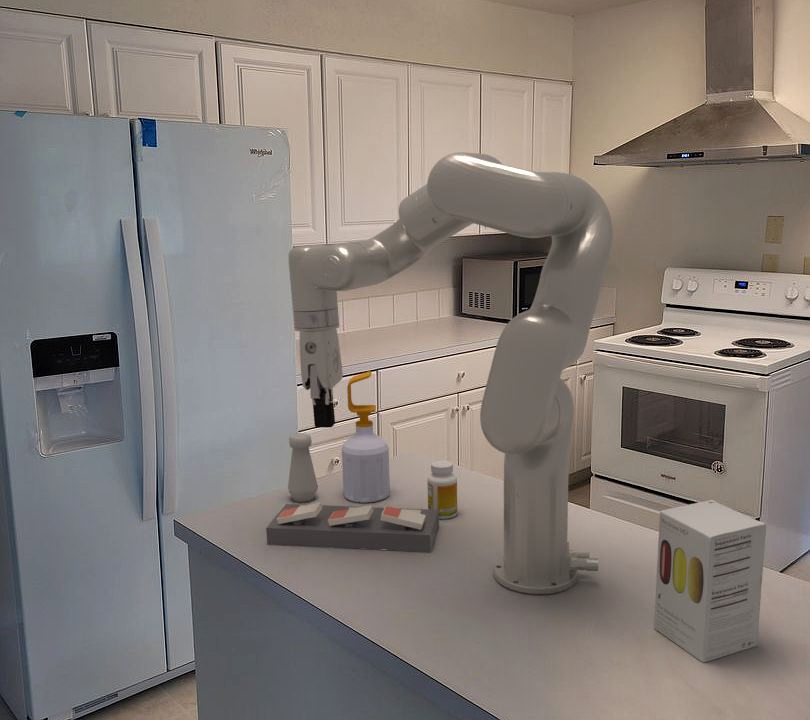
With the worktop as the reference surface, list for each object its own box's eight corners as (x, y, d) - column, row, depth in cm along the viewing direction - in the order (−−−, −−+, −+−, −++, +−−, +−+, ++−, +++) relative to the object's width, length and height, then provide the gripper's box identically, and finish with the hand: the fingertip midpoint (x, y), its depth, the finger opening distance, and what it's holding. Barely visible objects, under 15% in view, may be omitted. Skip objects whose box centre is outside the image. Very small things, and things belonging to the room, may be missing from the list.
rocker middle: (373, 510, 139) (372, 504, 139) (368, 519, 135) (367, 513, 135) (335, 516, 141) (333, 510, 140) (329, 525, 137) (327, 519, 136)
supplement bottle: (462, 511, 150) (462, 461, 148) (448, 521, 145) (447, 470, 144) (437, 506, 153) (436, 457, 151) (422, 516, 148) (421, 465, 146)
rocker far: (322, 507, 141) (320, 501, 140) (316, 516, 137) (314, 510, 137) (285, 515, 142) (283, 509, 142) (278, 524, 138) (276, 518, 138)
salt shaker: (304, 491, 163) (300, 428, 160) (324, 497, 159) (321, 433, 156) (282, 499, 158) (278, 435, 156) (302, 506, 155) (299, 440, 152)
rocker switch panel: (439, 525, 144) (438, 506, 143) (430, 552, 133) (430, 531, 132) (287, 519, 148) (285, 500, 148) (267, 544, 138) (265, 523, 137)
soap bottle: (389, 503, 155) (385, 377, 150) (341, 504, 155) (336, 378, 150) (390, 486, 164) (387, 367, 159) (345, 487, 164) (340, 368, 159)
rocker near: (424, 520, 138) (425, 514, 138) (421, 529, 134) (422, 523, 134) (384, 510, 139) (385, 504, 139) (380, 519, 135) (381, 513, 135)
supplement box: (651, 628, 108) (656, 509, 105) (704, 613, 112) (710, 497, 109) (704, 664, 100) (711, 536, 96) (760, 646, 103) (768, 522, 100)
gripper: (327, 325, 128) (336, 437, 131) (347, 313, 142) (355, 414, 145) (281, 327, 129) (291, 438, 132) (306, 315, 143) (314, 415, 147)
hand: (325, 426), depth 139 cm, fingers closed
